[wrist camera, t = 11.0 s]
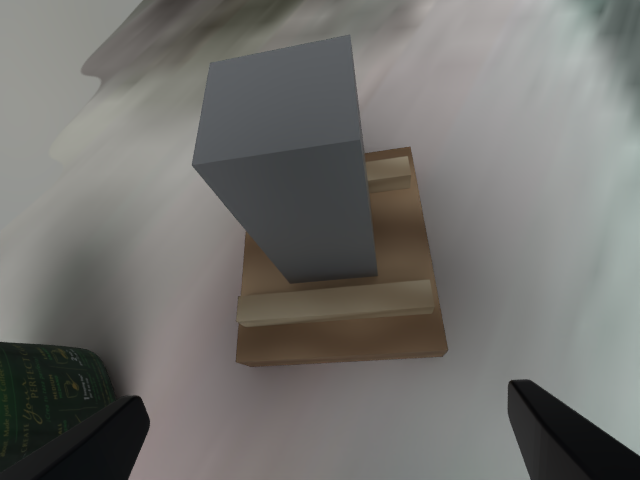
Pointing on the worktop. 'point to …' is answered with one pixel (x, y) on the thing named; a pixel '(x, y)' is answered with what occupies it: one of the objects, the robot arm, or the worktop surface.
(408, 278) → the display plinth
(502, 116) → the worktop surface
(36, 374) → the coffee jar
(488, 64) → the worktop surface
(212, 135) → the tall grey pillar block
